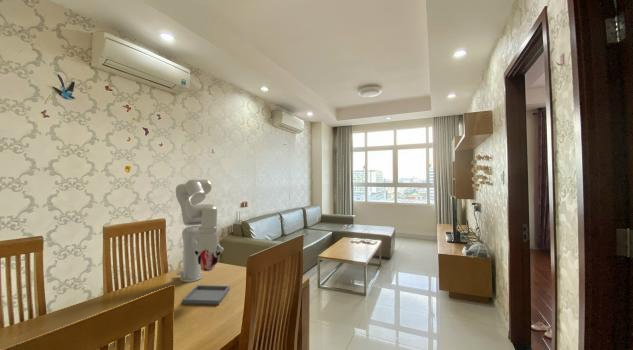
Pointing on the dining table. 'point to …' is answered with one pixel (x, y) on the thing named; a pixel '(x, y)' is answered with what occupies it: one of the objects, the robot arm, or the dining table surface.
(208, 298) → the tray
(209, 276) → the dining table surface
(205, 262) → the soda can
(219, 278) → the dining table surface
